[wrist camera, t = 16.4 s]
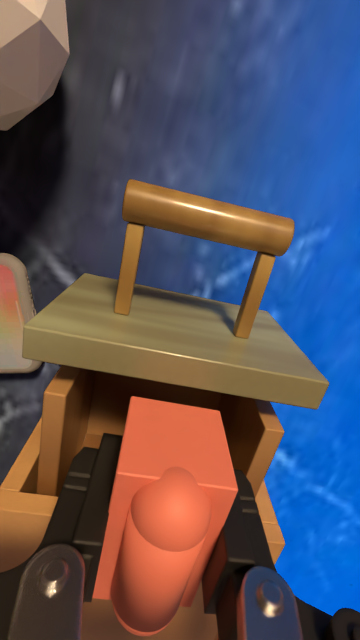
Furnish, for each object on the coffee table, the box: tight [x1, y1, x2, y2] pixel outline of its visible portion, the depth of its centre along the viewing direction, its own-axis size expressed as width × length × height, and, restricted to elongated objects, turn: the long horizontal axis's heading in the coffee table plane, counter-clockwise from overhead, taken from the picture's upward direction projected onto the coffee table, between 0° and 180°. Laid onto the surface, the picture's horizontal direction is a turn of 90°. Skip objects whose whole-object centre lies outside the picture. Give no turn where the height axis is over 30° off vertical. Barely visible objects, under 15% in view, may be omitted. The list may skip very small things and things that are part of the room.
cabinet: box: [0, 417, 285, 640], centre depth 18 cm, size 12×12×9 cm
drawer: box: [22, 179, 329, 497], centre depth 14 cm, size 15×10×7 cm
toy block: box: [92, 396, 238, 636], centre depth 9 cm, size 3×5×4 cm, turn 167°
